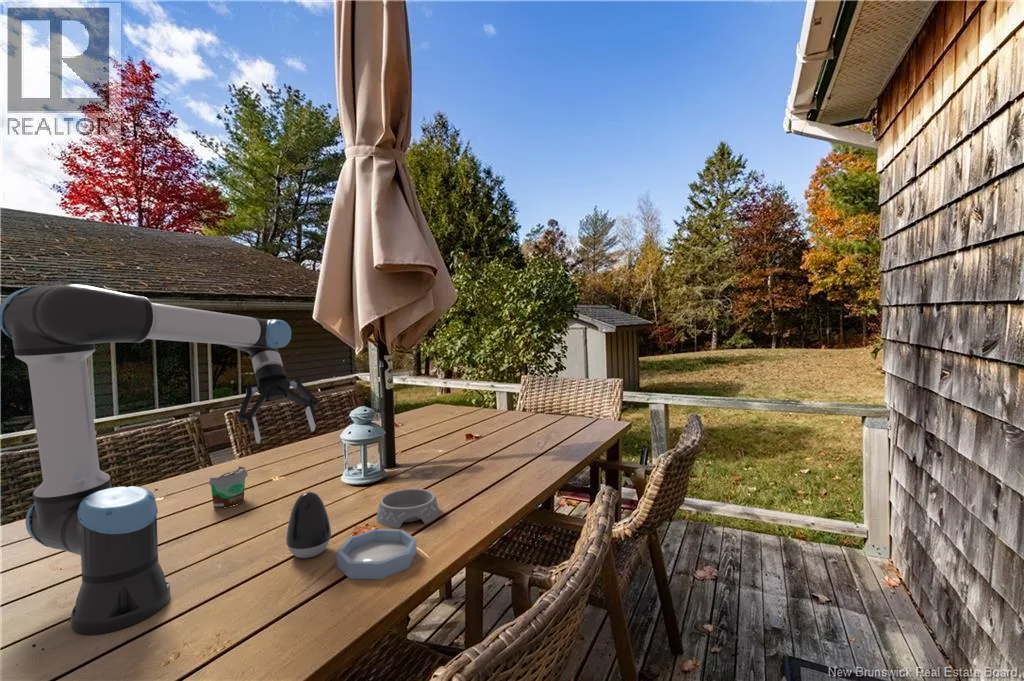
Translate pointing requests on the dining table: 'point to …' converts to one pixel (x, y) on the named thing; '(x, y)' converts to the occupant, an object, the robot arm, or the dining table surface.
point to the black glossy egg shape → (308, 527)
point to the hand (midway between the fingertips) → (287, 434)
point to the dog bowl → (407, 507)
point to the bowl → (376, 554)
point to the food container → (228, 488)
